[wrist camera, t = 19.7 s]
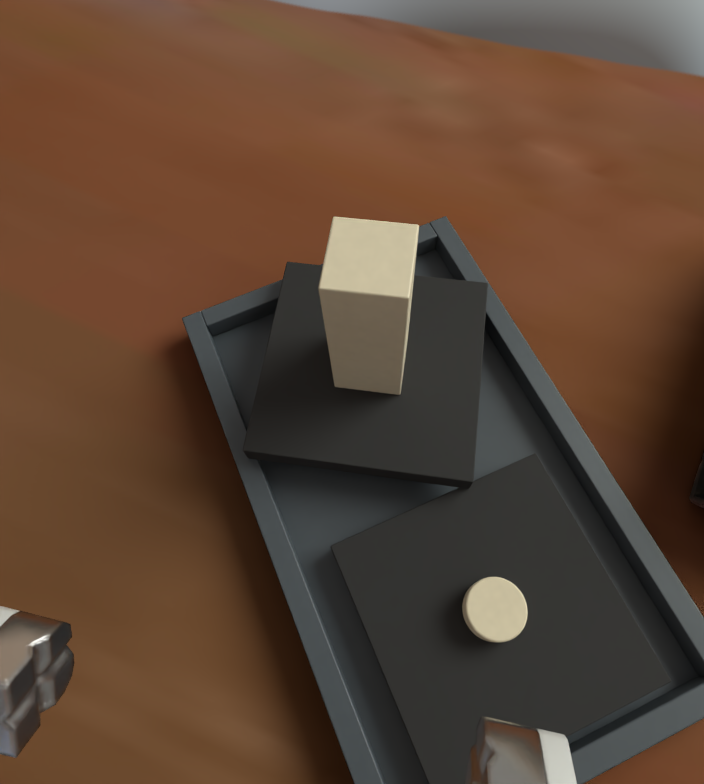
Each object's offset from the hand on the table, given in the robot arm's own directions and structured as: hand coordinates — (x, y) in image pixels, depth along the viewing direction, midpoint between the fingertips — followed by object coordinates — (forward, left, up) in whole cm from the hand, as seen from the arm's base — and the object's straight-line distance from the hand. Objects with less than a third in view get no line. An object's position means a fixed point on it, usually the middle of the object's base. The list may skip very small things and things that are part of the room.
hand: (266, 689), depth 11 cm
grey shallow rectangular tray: (+7, +5, -14) cm, 17 cm away
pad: (+7, -1, -14) cm, 16 cm away
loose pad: (+7, +11, -13) cm, 18 cm away
